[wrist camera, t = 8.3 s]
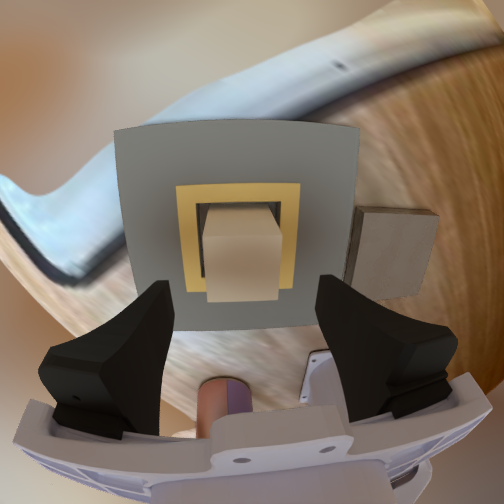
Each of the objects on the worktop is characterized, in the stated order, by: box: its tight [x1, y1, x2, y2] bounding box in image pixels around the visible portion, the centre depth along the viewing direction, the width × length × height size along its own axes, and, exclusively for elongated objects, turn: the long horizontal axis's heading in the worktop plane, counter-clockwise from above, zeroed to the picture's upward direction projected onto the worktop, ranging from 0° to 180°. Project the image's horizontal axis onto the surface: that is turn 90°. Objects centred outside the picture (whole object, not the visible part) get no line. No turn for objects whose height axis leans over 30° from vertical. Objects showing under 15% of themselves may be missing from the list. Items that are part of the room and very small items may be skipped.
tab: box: [344, 207, 440, 301], centre depth 21 cm, size 8×8×2 cm
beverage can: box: [196, 378, 253, 439], centre depth 21 cm, size 6×6×15 cm
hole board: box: [114, 119, 360, 331], centre depth 19 cm, size 16×16×2 cm
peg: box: [202, 203, 282, 302], centre depth 17 cm, size 4×4×6 cm
